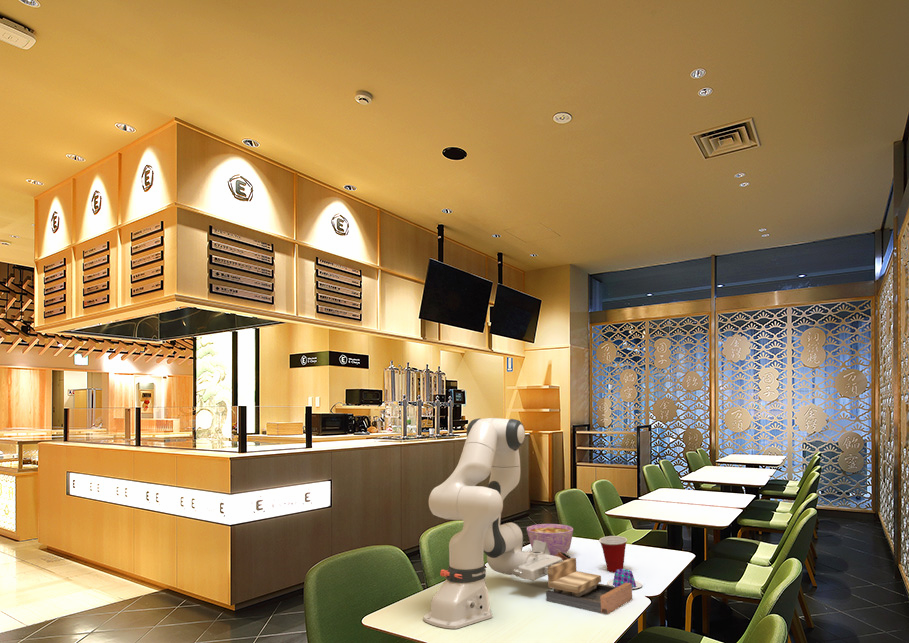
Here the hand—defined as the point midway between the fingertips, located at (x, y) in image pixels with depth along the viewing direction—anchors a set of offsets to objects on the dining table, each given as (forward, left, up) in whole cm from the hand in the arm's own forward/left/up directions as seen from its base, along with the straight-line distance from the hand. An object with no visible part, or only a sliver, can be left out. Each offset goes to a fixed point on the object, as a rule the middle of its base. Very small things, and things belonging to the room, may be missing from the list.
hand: (560, 571), depth 206 cm
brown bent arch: (+23, +15, -8) cm, 29 cm away
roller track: (0, -11, -8) cm, 13 cm away
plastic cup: (+37, -2, -8) cm, 38 cm away
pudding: (+22, -13, -8) cm, 27 cm away
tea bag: (+25, +24, -8) cm, 36 cm away
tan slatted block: (0, -6, -6) cm, 8 cm away
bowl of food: (+42, +30, -8) cm, 52 cm away
